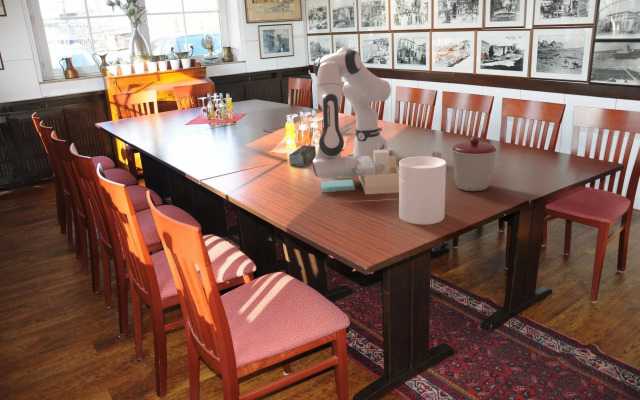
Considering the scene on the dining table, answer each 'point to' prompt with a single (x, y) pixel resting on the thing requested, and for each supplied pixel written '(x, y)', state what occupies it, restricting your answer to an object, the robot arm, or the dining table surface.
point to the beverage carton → (302, 155)
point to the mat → (337, 185)
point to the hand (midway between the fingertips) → (383, 165)
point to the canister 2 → (473, 164)
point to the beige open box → (382, 180)
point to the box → (381, 160)
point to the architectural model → (436, 154)
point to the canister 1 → (422, 189)
